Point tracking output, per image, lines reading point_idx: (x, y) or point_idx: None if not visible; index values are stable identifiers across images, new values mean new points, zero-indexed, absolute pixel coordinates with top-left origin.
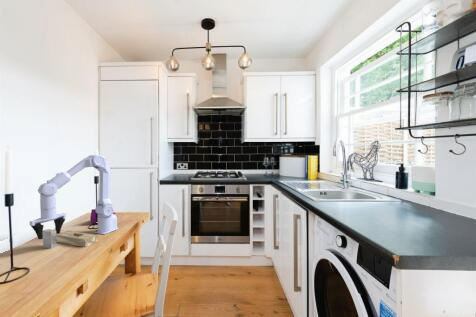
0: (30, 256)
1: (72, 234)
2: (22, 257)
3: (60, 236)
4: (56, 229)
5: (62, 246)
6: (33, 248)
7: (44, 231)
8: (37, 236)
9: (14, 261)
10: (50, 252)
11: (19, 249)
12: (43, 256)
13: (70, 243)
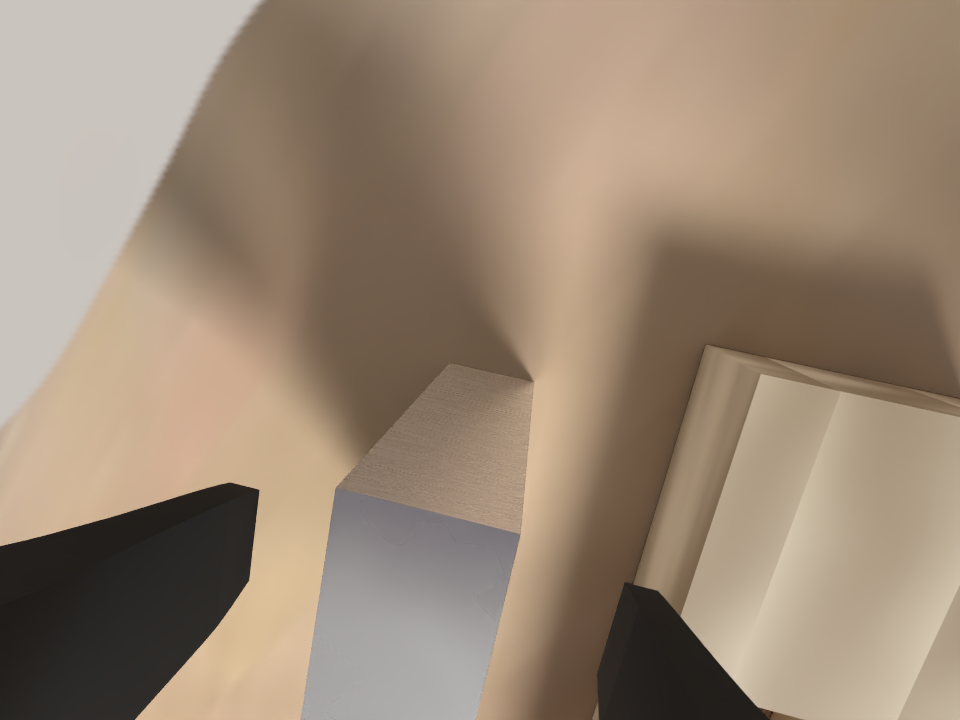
0: (154, 494)
1: (833, 710)
2: (107, 415)
3: (689, 557)
4: (644, 697)
5: (505, 648)
6: (374, 248)
7: (326, 575)
8: (180, 499)
9: (9, 429)
10: (303, 646)
11: (298, 20)
12: (194, 656)
13: (598, 714)
